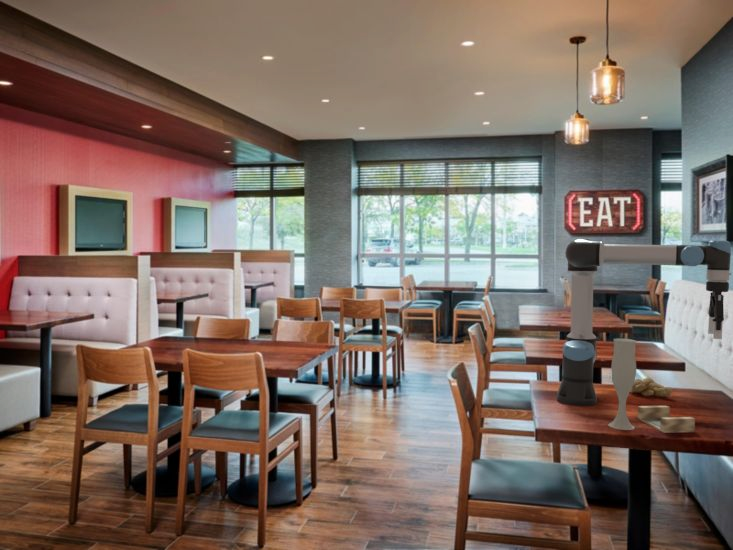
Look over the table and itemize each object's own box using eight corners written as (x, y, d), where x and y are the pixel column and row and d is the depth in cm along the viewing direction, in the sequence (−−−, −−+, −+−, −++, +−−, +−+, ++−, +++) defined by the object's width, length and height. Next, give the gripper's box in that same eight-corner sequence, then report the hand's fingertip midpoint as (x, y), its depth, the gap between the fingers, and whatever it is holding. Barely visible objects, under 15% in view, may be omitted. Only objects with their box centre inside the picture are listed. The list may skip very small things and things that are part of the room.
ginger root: (621, 385, 265) (626, 368, 264) (659, 396, 262) (664, 378, 261) (628, 395, 250) (634, 377, 248) (669, 407, 247) (675, 388, 245)
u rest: (663, 432, 204) (664, 419, 203) (637, 418, 219) (637, 406, 219) (694, 432, 205) (695, 418, 205) (665, 418, 221) (666, 405, 220)
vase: (603, 422, 214) (606, 338, 213) (626, 422, 215) (629, 338, 213) (616, 430, 206) (619, 342, 204) (639, 429, 206) (643, 342, 205)
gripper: (734, 283, 219) (731, 341, 220) (723, 279, 242) (720, 332, 243) (711, 282, 222) (708, 340, 223) (702, 278, 245) (699, 331, 246)
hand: (714, 336), depth 233 cm, fingers open, 13 cm apart
